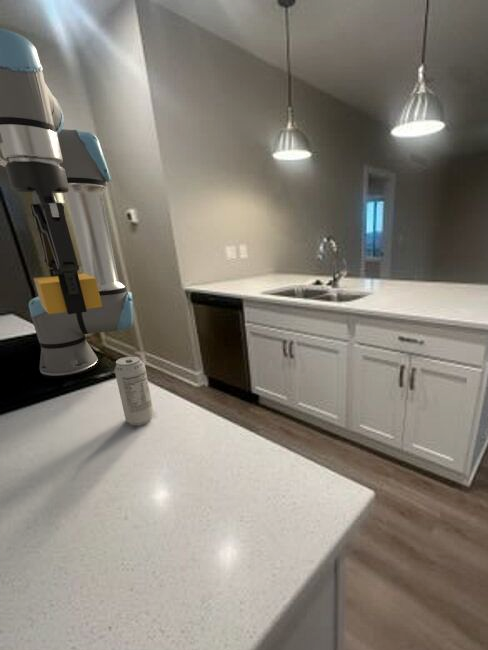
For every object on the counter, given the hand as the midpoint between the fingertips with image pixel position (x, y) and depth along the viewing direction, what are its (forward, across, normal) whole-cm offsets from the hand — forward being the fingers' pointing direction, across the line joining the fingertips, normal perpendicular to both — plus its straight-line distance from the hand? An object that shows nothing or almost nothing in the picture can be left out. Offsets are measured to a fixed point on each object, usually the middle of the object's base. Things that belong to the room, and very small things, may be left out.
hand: (72, 308), depth 62 cm
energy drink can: (+29, -4, +8) cm, 30 cm away
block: (0, 0, 0) cm, 0 cm away
